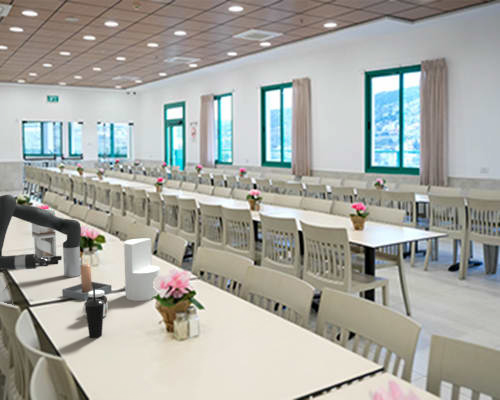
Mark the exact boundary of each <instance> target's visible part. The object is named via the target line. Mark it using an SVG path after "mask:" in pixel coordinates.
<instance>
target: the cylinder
mask: <svg viewBox="0 0 500 400" xmlns="http://www.w3.org/2000/svg"><path fill="white" fill-rule="evenodd" d="M123 243H124V245H123V247H124V252H123V253H124V279H125V280H124V283H125V285H124V286H125V287H124V288H125V299H127V300H130V301H135V302H137V301H138V302H140V301H141V302H143V301H149V300H152V299H150V297H152V296H154V295H156V294H158V292H157V291H156V290H155V289H154V288H153V281H154V279H155V278H156V277H158V276H160V277H161V271H160V266H158V265H153V263H152V262H153V261H152V260H153V255H152V253H153V251H152V238H148V237H147V238H144V237H143V238H142V237H141V238H133V239H127V240H124V241H123Z"/></svg>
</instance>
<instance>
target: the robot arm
mask: <svg viewBox="0 0 500 400" xmlns="http://www.w3.org/2000/svg"><path fill="white" fill-rule="evenodd" d="M44 209H45V208H42V207H41V208H40V207H37V206H33V205H26V204H25V205H24V204H18V203H17V200H16V197H15V196H13V195H11V194H4V195H0V269H1V270H2V269H3V270H8V271H9V270H10V271H11V270H36V269H37V268H38V267H40V268H41V267H48V266H52V265H58V264H59V261H62V258H63V277H66V278H75V277H79V276H80V277H81V269H80V265H83V264H82V263H83V260H82V258H81V250H80V249H81V248H80V247H81V246H80V245H81V241H82V225H81V223H80V221H78V220H76V219H71V218H70V219H69V218H63V217H60V216H54V215H53V214H51V213H50V212H48V211H46V210H44ZM12 217H14V218H17V219H19V220H22V221H25V222H27V223H30V224H32V223H33V224H36V225H39V226H43V227H48V228H52V229H54V230H55V232H56V231H57V232H59V233H61V234H62V235H66V240H65V241H63V243H62V251H63V252H62V254H63V256H62V255H56V256H53V255H44V256H43V255H42V256H41V257H39V258H38V257H37V255H36V254H35V253H28V254H27V253H26V254H25V253H23V254H17V255H16V254H15V255H3V248H4V243H5V239H6V234H7V231H8V229H9V226H10V222H11V220H12ZM50 258H51V259H50Z"/></svg>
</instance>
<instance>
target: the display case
mask: <svg viewBox="0 0 500 400" xmlns="http://www.w3.org/2000/svg"><path fill="white" fill-rule="evenodd" d="M43 209H44V210H46V211H48V212H50V213H51V214H53V215H54V216H55V210H53V209H50V208H43ZM31 234H32V235H31V236H32V238H34V239H33V240H34V242H33V243H34V254H36V255H37V257H38V258H39V257H41V256H42V255H43V256H44V255H53V256H57V242H56V241H57V240H56V239H57V237H56V230H54V229H52V228H48V227H43V226H39V225H36V224H33V223H31ZM50 259H51V258H50Z"/></svg>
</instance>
